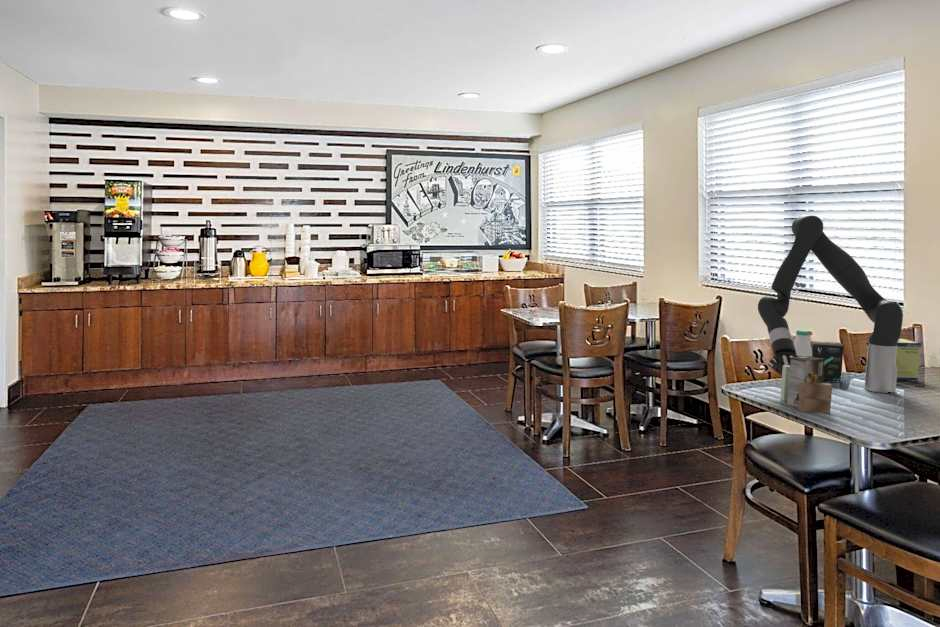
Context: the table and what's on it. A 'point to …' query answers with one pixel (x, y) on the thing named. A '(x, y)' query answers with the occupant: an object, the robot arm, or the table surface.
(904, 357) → the protein box
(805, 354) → the milk bottle
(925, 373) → the table surface
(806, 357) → the coffee box
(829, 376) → the tampon box
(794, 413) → the table surface
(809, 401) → the end block
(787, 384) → the bookend
